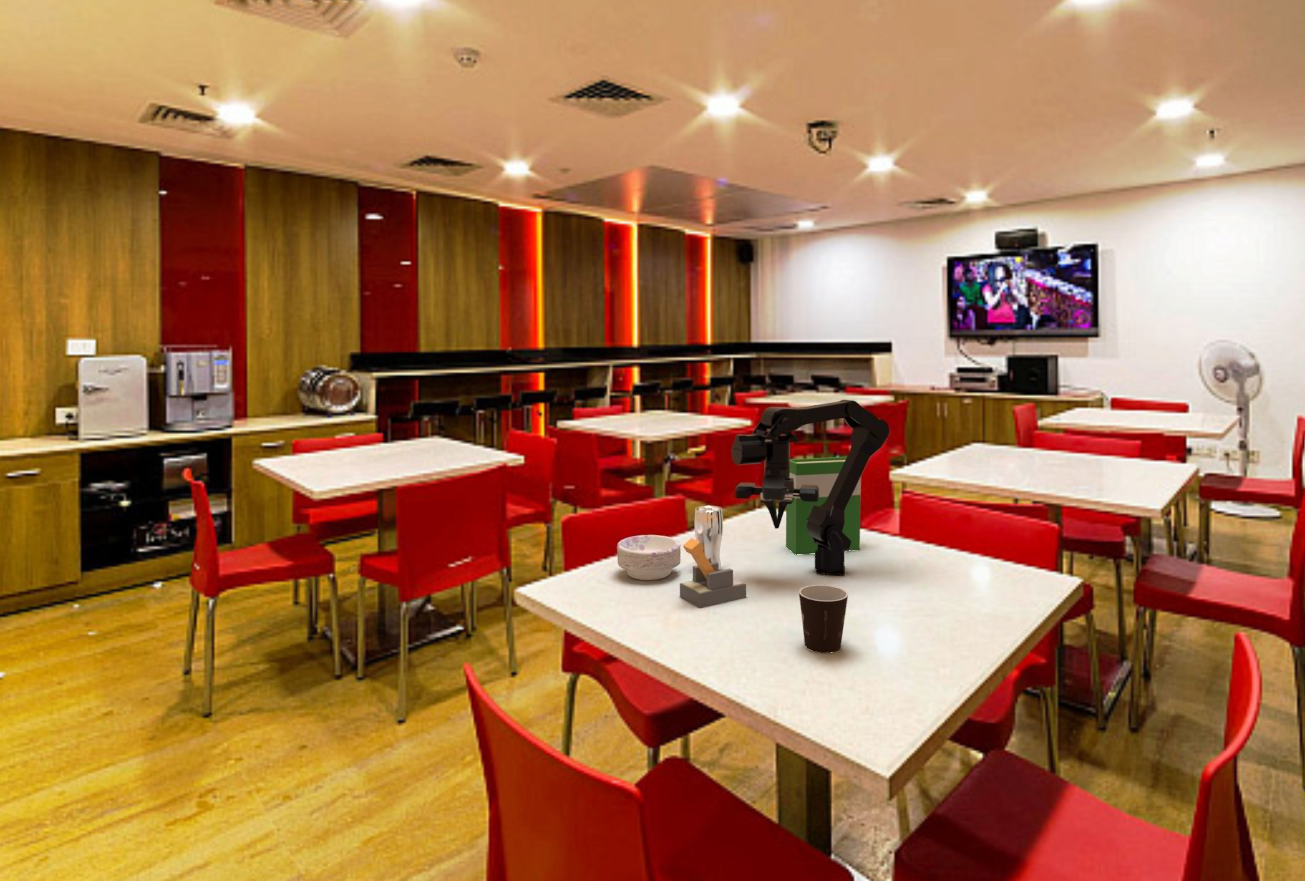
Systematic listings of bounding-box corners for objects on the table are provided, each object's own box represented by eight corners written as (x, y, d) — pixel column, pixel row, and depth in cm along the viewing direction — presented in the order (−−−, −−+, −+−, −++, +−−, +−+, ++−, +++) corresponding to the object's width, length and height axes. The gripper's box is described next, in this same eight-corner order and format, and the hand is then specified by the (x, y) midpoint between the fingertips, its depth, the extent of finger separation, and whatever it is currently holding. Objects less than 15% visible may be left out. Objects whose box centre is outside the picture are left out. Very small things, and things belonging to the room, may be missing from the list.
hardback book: (847, 543, 199) (849, 456, 196) (859, 550, 192) (861, 460, 188) (785, 547, 196) (786, 459, 193) (795, 555, 189) (796, 463, 185)
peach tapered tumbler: (721, 573, 175) (721, 512, 173) (693, 571, 176) (692, 511, 174) (724, 564, 182) (724, 505, 180) (697, 563, 183) (696, 505, 181)
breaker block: (725, 586, 165) (725, 559, 164) (746, 597, 158) (746, 568, 157) (680, 596, 159) (679, 567, 158) (699, 607, 152) (699, 577, 151)
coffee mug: (809, 632, 138) (809, 582, 137) (853, 642, 133) (854, 590, 132) (783, 654, 129) (784, 600, 127) (830, 666, 124) (831, 609, 123)
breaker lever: (713, 575, 160) (691, 537, 156) (722, 579, 157) (700, 541, 153) (705, 582, 159) (682, 545, 156) (714, 587, 156) (691, 549, 152)
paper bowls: (668, 587, 165) (667, 554, 164) (607, 581, 171) (606, 548, 170) (689, 568, 179) (689, 537, 178) (632, 562, 185) (632, 532, 184)
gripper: (730, 466, 162) (731, 534, 164) (816, 469, 157) (815, 539, 159) (739, 458, 172) (739, 523, 174) (819, 461, 167) (818, 527, 169)
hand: (776, 528), depth 169 cm, fingers closed
